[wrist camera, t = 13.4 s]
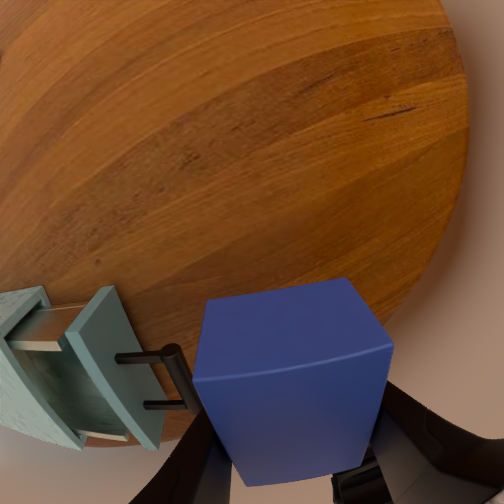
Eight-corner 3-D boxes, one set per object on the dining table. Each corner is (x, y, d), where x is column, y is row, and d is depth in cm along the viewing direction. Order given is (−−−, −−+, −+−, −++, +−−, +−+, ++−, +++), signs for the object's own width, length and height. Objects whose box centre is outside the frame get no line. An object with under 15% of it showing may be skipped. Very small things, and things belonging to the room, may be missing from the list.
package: (346, 275, 9) (396, 343, 5) (340, 405, 11) (360, 466, 8) (205, 298, 9) (190, 380, 5) (243, 422, 11) (245, 487, 8)
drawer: (176, 274, 18) (153, 325, 13) (219, 397, 23) (216, 450, 17) (4, 301, 19) (-30, 333, 13) (59, 394, 23) (41, 430, 18)
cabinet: (43, 285, 19) (-9, 333, 12) (104, 396, 24) (82, 451, 17) (-29, 298, 20) (-65, 330, 12) (21, 385, 24) (-2, 423, 17)
